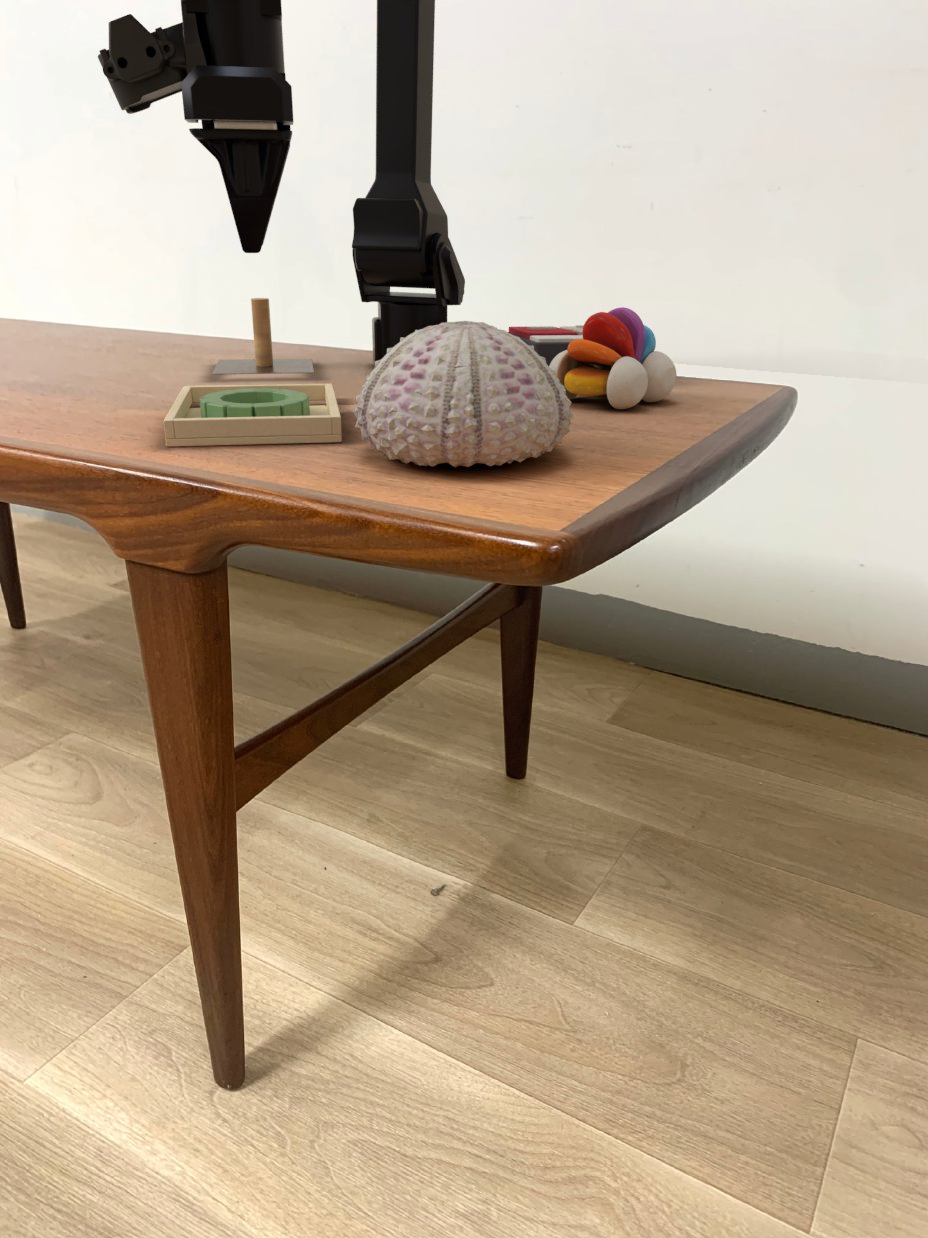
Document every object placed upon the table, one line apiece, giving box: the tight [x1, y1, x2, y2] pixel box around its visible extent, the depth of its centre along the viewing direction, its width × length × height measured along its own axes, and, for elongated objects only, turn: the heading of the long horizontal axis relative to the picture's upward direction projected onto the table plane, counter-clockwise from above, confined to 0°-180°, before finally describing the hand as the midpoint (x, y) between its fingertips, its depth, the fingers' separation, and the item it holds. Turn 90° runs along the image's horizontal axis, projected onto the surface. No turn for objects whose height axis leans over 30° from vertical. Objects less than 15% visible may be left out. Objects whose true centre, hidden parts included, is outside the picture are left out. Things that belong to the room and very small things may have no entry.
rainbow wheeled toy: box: [549, 306, 678, 410], centre depth 76 cm, size 8×10×7 cm
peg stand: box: [211, 297, 315, 375], centre depth 88 cm, size 9×9×7 cm
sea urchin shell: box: [352, 320, 574, 468], centre depth 58 cm, size 13×14×8 cm
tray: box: [162, 383, 343, 448], centre depth 68 cm, size 11×13×2 cm
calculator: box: [507, 324, 584, 366], centre depth 91 cm, size 11×4×15 cm
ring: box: [199, 388, 311, 418], centre depth 67 cm, size 8×8×1 cm
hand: (253, 249), depth 66 cm, fingers open, 9 cm apart
